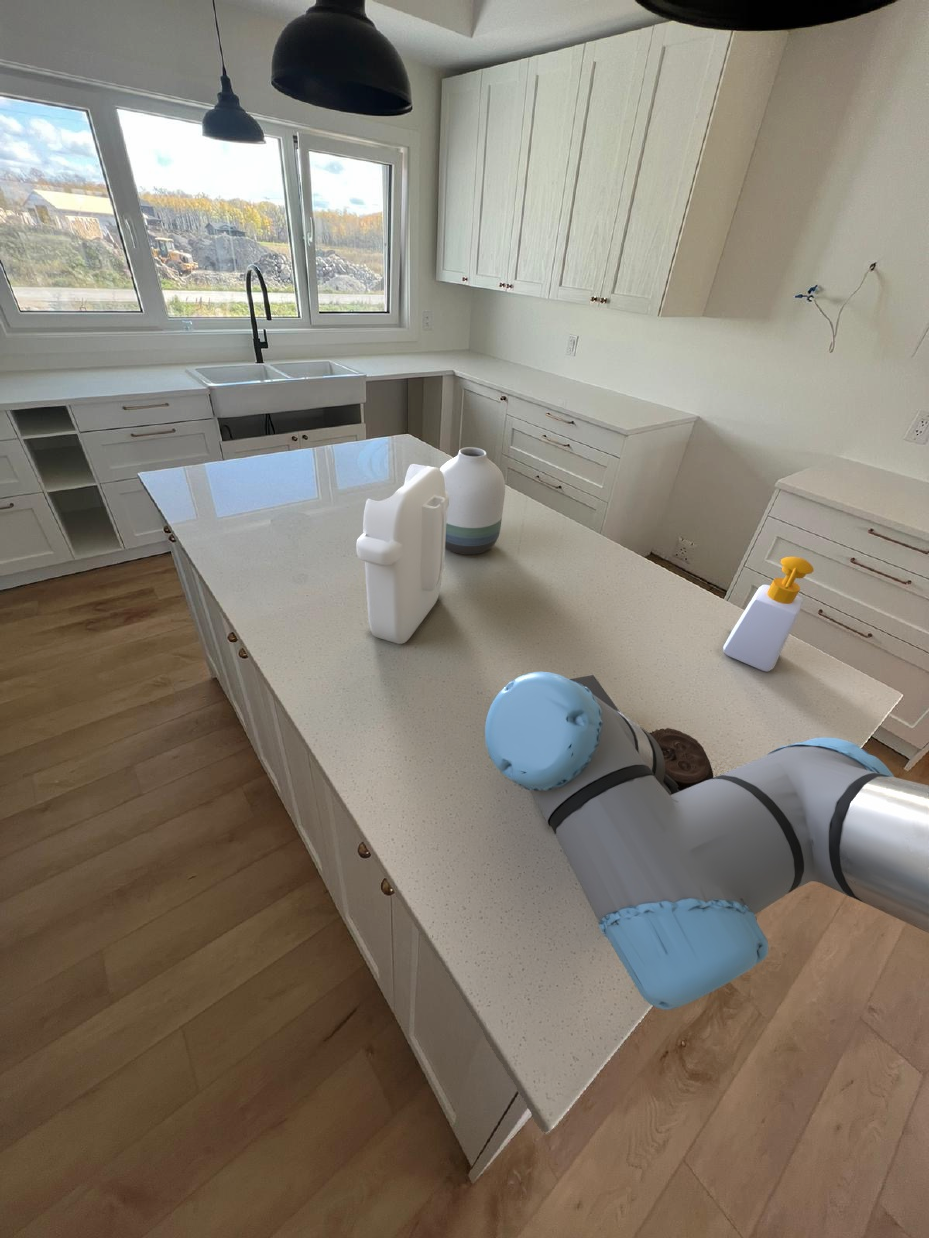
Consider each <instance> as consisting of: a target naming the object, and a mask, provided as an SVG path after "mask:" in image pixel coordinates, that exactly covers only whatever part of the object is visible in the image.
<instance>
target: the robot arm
mask: <svg viewBox="0 0 929 1238" xmlns="http://www.w3.org/2000/svg"><path fill="white" fill-rule="evenodd" d="M569 679H570V678H567V677H565V676H563V675H561V674H558V673H554V672H550V671H533V672H528V673H525V674H523V675H520V676H518V677H516V678H514V679H513V680H510V681H509V682H508V683H507V684H506V685H505V686H504V687H503V688H502V689H501V690H500V691H499V692H498V693H497V695H496V696H495V698H494V699H493V701H492V703H491V705H490V707H489V709H488V713H487V714H486V715H487V716H486V719H485V726H484V738H485V746H486V749H487V753H488V755H489V757H490V759H491V761H492V762H493V764H494V766H495V767H496V768H497V770H498V771H499V772H500V773H501V774H503V776H504V777H506V778H507V779H509V780H511V781H513V783H515V784H517V785H518V786H521V787H523V788H524V789H525V790H528V791H530V792H531V794H532V797H533V798H534V801H535V803H536V804H537V806H538V808H539V810H540V812H541V814H542V816H543V817H544V819H545V821H546V823H547V824H548V826H549V827H551V830H552V831H553V833H554V834H553V835H554V836H555V838H556V839H557V842H558V844H559V846H560V847H561V850H562V852H563V854H564V855H565V858H566V860H567V862H568V863H569V866H570V867H571V869H572V871H573V873H574V876H575V878H576V879H577V881H578V883H579V885H580V887H581V890H582V891H583V894H584V896H585V897H586V899H587V902H588V903H589V905H590V907H591V910H592V912H593V913H594V915H595V917H596V919H597V922H598V926H599V928H600V931H601V933H602V935H603V936H604V937H605V938H607V940H608V942H609V943H610V945H611V947H612V948H613V950H614V952H615V954H616V955H617V956H618V958H619V960H620V962H621V964H622V965H623V967H624V969H625V970H626V972H627V974H628V976H629V978H630V979H631V981H632V982H633V984H634V986H635V987H636V989H637V991H638V992H639V994H640V995H641V997H642V998H643V999H644V1000H645V1001H646V1002H647V1003H648V1004H650V1005H651V1006H652V1007H654V1008H656V1009H659V1010H664V1011H670V1010H674V1009H678V1008H680V1007H683V1006H686V1005H688V1004H690V1003H692V1002H694V1001H696V1000H698V999H701V998H702V997H705V996H706V995H709V994H711V993H712V992H714V991H716V990H718V989H721V988H722V987H724V986H726V985H727V984H729V983H730V982H732V981H734V980H736V979H737V978H739V977H740V976H742V975H744V974H746V973H748V972H749V971H750V970H752V969H753V968H754V967H755V966H756V965H758V964H760V963H761V962H763V961H764V960H766V958H767V956H768V955H769V951H770V947H769V940H768V938H767V936H766V935H765V934H764V931H763V930H762V929H761V927H760V925H759V924H758V923H759V922H758V918H757V916H756V914H758V913H760V912H762V911H763V910H764V909H767V907H769V906H771V905H772V904H774V903H776V902H777V901H779V900H780V899H783V897H785V896H786V895H788V894H790V893H791V892H793V891H794V890H796V889H798V888H800V887H803V886H804V885H807V884H808V883H812V882H813V883H814V882H816V883H820V884H822V885H824V886H826V887H827V888H831V889H832V890H835V891H837V892H838V893H841V894H843V895H845V896H847V897H849V898H853V899H854V900H856V901H859V902H862V903H864V904H865V905H868V906H870V907H872V908H874V909H876V910H879V911H881V912H882V913H885V914H887V915H889V916H891V917H893V918H896V919H897V920H900V921H902V922H904V923H906V924H909V925H911V926H913V927H914V928H917V929H919V930H921V931H923V932H925V933H927V934H929V784H924V783H920V782H916V781H912V780H907V779H904V778H899V777H895V776H894V774H893V773H892V771H891V770H890V769H889V768H888V766H887V765H886V764H885V763H884V762H882V761H881V759H879V758H878V757H877V756H875V755H872V754H871V753H869V752H868V751H866V750H865V749H863V748H862V747H860V746H859V745H858V744H856V743H854V742H851V741H849V740H845V739H842V738H837V737H815V738H811V739H808V740H805V741H802V742H794V743H792V744H788V745H781V746H779V747H777V748H776V749H774V750H772V751H770V752H768V753H767V754H766V755H764V756H762V757H758V758H756V759H754V760H752V761H749V762H747V763H745V764H743V765H740V766H738V767H735V768H733V769H730V770H728V771H726V772H723V773H721V774H719V775H716V776H714V777H713V778H712V779H709V780H706V781H704V782H701V783H699V784H696V785H694V786H692V787H689V788H687V789H684V790H682V791H680V790H678V785H677V784H676V783H675V782H674V781H673V780H672V779H671V778H670V777H669V776H668V775H667V774H666V773H665V761H664V756H663V753H662V751H661V748H660V746H659V745H658V743H657V742H656V740H655V739H654V738H653V737H652V736H651V735H650V734H649V733H650V732H648V731H647V730H646V729H644V728H643V727H641V726H640V725H638V724H637V723H636V722H634V721H633V720H632V719H630V718H629V717H628V716H627V715H625V714H623V713H622V712H621V711H620V712H618V711H616V710H614V709H612V708H611V707H610V706H608V705H607V704H606V703H604V702H603V701H601V700H600V699H599V698H597V697H596V696H595V695H593V694H592V692H591V691H590V690H589V689H588V688H587V687H584V686H583V685H582V684H580V683H576V682H575V681H573V680H569Z"/></svg>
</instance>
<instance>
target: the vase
mask: <svg viewBox="0 0 929 1238" xmlns="http://www.w3.org/2000/svg"><path fill="white" fill-rule="evenodd" d="M487 455H488V454H487V451H486V450H485V449H482V448H479V447H473V446H470V447H469V446H467V447H462V448H460V449H459V451H458V453H457V455H456V456H454V457H453V458H450V459H449V460H448V461H446V462H445V463H444V464H443V465H442V466H441V467H440V468H439V469H440V470H441V471H442V473H443V476H444V480H445V490H446V491H447V492H448V494H449V506H448V509H447V510H446V511H447V517H446V538H445V550H447V551H450V552H452V553H455V554H459V555H478V554H482V553H484V552H488V551H489V550H491V548H493V547H494V546H495V544H496V543H497V541H498V540H499V536H500V533H501V527H502V521H503V520H502V519H503V513H504V504H505V496H506V481H505V476H504V474H503V472H502V471H501V469H500V468H499V467H498V466H497V465H496V464H495V462H493V461H492V460H490V459H489V458H488V456H487Z"/></svg>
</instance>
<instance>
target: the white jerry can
mask: <svg viewBox="0 0 929 1238" xmlns="http://www.w3.org/2000/svg"><path fill="white" fill-rule="evenodd" d="M448 506H449V494H448V492H447V491H446V490H445V480H444V476H443V473H442V471H441V470H440V468H438V467H436V466H429V465H424V464H423V465H422V464H416V463H410V465H409V466H408V468H407V470H406V473H405V478H404V484H403V485H401V487H399V488H398V489H397V490H396V491H394V493H393V494H392V495H391V496H390V497H387V498H384V499H381V500H373V499H371V498H366V502H365V505H364V510H363V519H362V534H361V535H360V536H359V537H358V538H357V539H356V544H355V545H356V547H355V548H356V555H357V557H358V559H360V561H362V562H364V573H365V586H366V604H367V605H366V606H367V619H368V627H369V629H370V632H371V634H372V635H373V637H375V638H377V639H379V640H380V639H381V640H383V641H387V642H391V643H394V644H396V645H397V644H398V645H403V644H405V643H406V642H408V641H409V639H410V638H411V637H412V635H413V634H414V633H415V632H416V630H417V629H418V628H419V626H420V625H421V624H422V623H423V621H424V619H425V618H426V617H427V616H428V614H429V613H430V611H431V610H432V609H433V608H434V606H435V605H436V603H437V601H438V600H439V597H440V596H439V595H440V593H441V592H440V591H441V586H442V579H443V572H444V566H445V554H446V548H445V538H446V517H447V511H446V510H447V509H448Z"/></svg>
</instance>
